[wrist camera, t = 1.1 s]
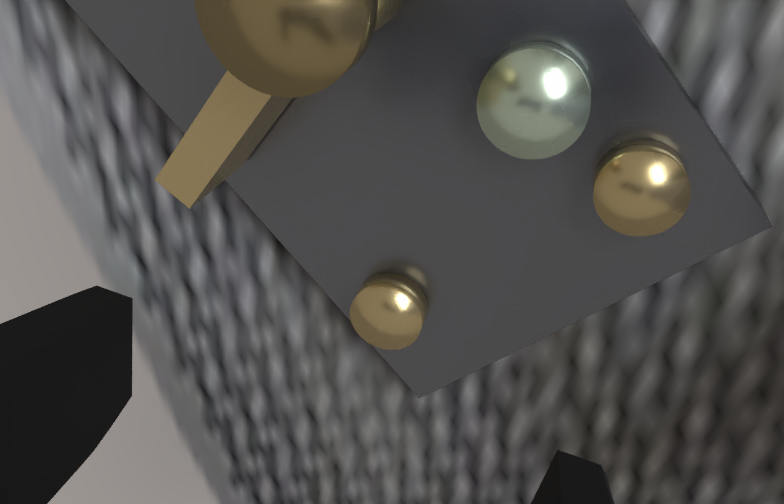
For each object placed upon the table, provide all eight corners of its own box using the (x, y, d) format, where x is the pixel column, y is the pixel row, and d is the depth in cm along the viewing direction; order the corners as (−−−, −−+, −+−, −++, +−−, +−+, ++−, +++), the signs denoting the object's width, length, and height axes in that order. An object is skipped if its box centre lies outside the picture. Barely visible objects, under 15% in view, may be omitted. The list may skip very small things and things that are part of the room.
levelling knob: (344, -138, 14) (251, -142, 10) (452, -33, 14) (400, 0, 11) (182, 114, 18) (73, 177, 14) (271, 191, 18) (187, 271, 14)
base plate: (761, 204, 16) (793, 270, 13) (427, 373, 21) (402, 445, 19) (324, -449, 13) (250, -536, 10) (51, -57, 18) (-47, -45, 15)
